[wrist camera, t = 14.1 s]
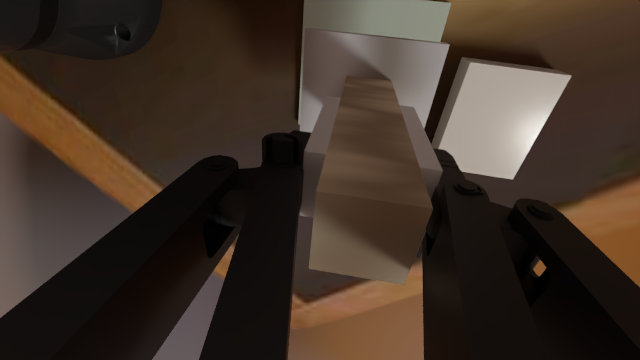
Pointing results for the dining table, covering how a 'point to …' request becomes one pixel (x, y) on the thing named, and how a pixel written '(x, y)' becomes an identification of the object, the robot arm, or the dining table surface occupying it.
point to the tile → (496, 114)
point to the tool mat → (376, 19)
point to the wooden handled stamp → (369, 149)
